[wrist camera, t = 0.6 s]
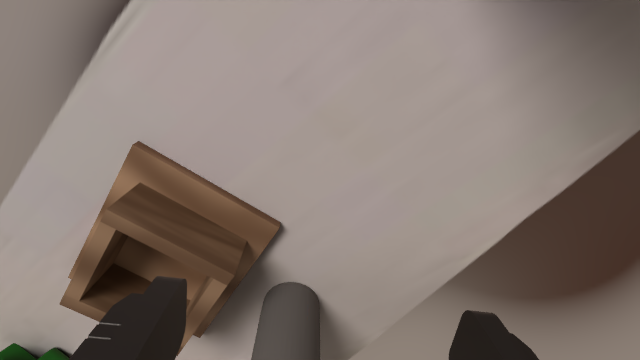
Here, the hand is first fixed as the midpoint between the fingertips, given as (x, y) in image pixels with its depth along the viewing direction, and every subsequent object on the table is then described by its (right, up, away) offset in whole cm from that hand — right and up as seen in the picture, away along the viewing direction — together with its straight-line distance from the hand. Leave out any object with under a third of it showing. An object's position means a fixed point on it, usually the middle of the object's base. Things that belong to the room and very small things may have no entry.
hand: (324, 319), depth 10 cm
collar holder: (-14, -3, +23) cm, 27 cm away
